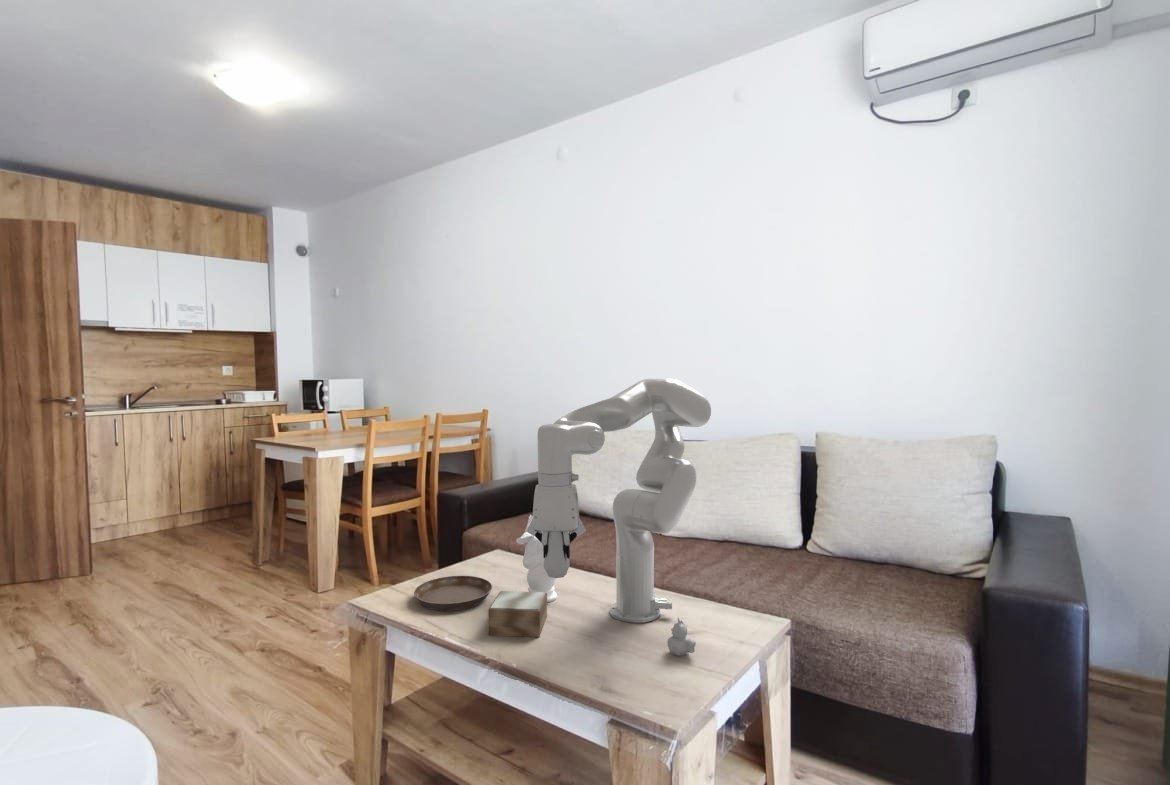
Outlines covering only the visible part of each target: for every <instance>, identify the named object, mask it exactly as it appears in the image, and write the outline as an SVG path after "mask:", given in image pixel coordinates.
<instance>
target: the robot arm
mask: <svg viewBox="0 0 1170 785" xmlns="http://www.w3.org/2000/svg"><path fill="white" fill-rule="evenodd" d="M650 414H651V415H652V419H653V424H654V425H653V426H654V432H655V435H654V439H653V442H652V444H651V446H650V447H649V450H648V451H647V452H646V454H645V456H644V458H643V460H642V462H640V465H639V467H638V469H637V472H636V476H635V479H636V483H637V485H638V486H639V488H641V489H637V488H628V489H623V490H621V491H620V492H618V493H617V495H615V497H614V499H613V503H612V516H613V522H614V526H615V533H616V534H615V538H616V539H615V540H616V541H615V542H616V552H615V553H616V555H615V556H616V557H615V558H616V560H615V561H616V562H615V563H616V567H615V568H616V570H615V572H616V575H615V578H616V580H615V582H616V583H615V584H616V585H615V586H616V587H615V589H616V590H615V592H616V593H615V594H616V595H615V596H616V598H615V603H613V604H612V605H611V606H610V608H609V609H610V610H609V612H610V615H611V616H612V617H613V618H614V619H616V620H618V621H620V622H625V623H626V622H627V623H634V624H637V623H638V624H639V623H648V622H649V623H650V622H652V621H654V620H656V619H658V618H659V617H660V616H661V615H660V613H661V609H662V610H673V602H672V601H671V600H670V601H668V599H667V598H658V597H656V595H655V592H654V591H655V590H654V589H655V584H654V583H655V574H654V573H655V544H654V540H653V536H652V533H654V534H655V533H656V534H660V535H663V534H668V533H670V532H671V531H673V530H674V528H675V527H676V526H677V524H678V523H679V521H680V519H681V517H682V515H683V512H685V511H684V510H686V507H687V505H688V503H689V501H690V499H691V498H692V495H693V493H694V490H695V488H696V484H697V472H696V469H695V466H694V465H693V463H691V462H690V461H689V460H686V459H683V458H682V457H683V454H684V452H685V442H684V438H683V436H682V433H681V431H680V427H687V428H688V427H689V428H700V427H703V426H705V425H706V424H707V423H708V422H709V420H710V419H711V416H712V415H711V414H712V407H711V404H710V401H709V400H708V399H707V397H705V396H704V394H702V393H700V392H699V391H697V390H695V389H693V388H692V387H690V386H688V385H687V384H685V383H683V382H682V381H680V380H678V379H674V378H645V379H642V380H640V381H637V382H635V383H634V384H632V385H630V386H629V387H628V388H627V387H626V389H624V390H622V391H620V392H619V393H617V394H615V395H613V396H612V397H611V396H610V397H609V398H606V399H603V400H600V401H596V402H595V403H591V404H588V405H585V406H583V407H579V408H577V409H575V410H573V411H570V412H568V413H567V414H565V415H564V416H562V417H560V418H558V419H557V420H555V421H554V423H548V424H541V426H539V427H538V428H537V467H538V468H537V471H538V472H537V474H538V476H537V477H538V480H537V481H538V484H536V485H535V489H534V495H533V505H532V506H533V507H532V516H533V519H532V521H531V523H530V525H529V527H528V529H527V532H528V533H529V534H531V535H533V536H535V537H536V538H537V539H538V540H539V541H540V542H541V543H542V545H543V556H544V558H545V556H546V557H547V554H548V536H549V532H554V531H556V532H563V535H564V545H563V552H564V557H565V562H566V555H567V558H569V559H570V557H571V550H570V545H571V543H572V542H573V541H574V540H575V539H576V538H578V537H579V536H581V535H584V534H585V532H586V531H587V530H586V527H585V526H584V523H583V522H582V520H581V519H580V507H579V496H578V490H577V486H576V485H577V484H574V482H576V481H578V482H579V474H576V473H574V472H573V464H572V463H573V459H572V458H573V457H572V456H573V455H586V456H588V455H593V454H595V453H597V452H599V451H600V450H601V449H602V448H603V446H604V444H605V440H606V436H605V433H608V432H615V431H616V432H617V431H621V430H625V429H628V428H630V427H631V426H633V425H634V424H636V423H637V422H639V421H640V420H642V419H644V418H645V417H647V416H649V415H650ZM554 525H555V526H556V528H557V529H556V530H553V526H554ZM541 531H542V532H541Z"/></svg>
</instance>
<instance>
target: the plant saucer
mask: <svg viewBox="0 0 1170 785" xmlns="http://www.w3.org/2000/svg"><path fill="white" fill-rule="evenodd" d="M492 590H493V584H492V583H491V582H490V581H489V580H487V579H485V578H482V577H478V576H474V575H451V576H443V577H437V578H433V579H431V580H428V581H425V582H423V583H421V584H419V585H418V586H417V587H416V588H415V589H414V592H413V594H414V595H413V596H414V598H416V600H417V601H418V602H419V603H420V604H421V605H423V606H424V607H425V608H427V609H430V610H433V609H434V610H435V611H440V610H443V611H444V612H449V611H450V612H452V611H460V610H466V609H469V608H473V607H475V606H477V605H479V604H481V603H482V602H483V601H484V600H485V599H486V598H487V597H488V596H489V595H490V593H491V591H492Z"/></svg>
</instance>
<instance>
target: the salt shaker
mask: <svg viewBox="0 0 1170 785" xmlns="http://www.w3.org/2000/svg"><path fill="white" fill-rule="evenodd" d="M556 529H557V528H556V526H555V525H554V526H553V530H556ZM563 545H564V535H563V532H556V531H554V532H549V536H548V554H547V557H546V556H545V559H544V568H545V570H546V572H547V574H548V577H551V578H556V579H560V578H565V576H566V575H567V574H568V571H569V569H570V568H569V567H570V566H571V565H570V558H567V555H566V562H565V557H564V552H563Z"/></svg>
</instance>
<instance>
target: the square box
mask: <svg viewBox="0 0 1170 785" xmlns="http://www.w3.org/2000/svg"><path fill="white" fill-rule="evenodd" d="M487 611H488V618H487V622H488V625H487V626H488V630H487V631H488V632H487V635H488V636H494V637H495V636H497V637H500V636H501V637H521V636H522V637H523V636H525V637H527V638H540V637H541V634H542V632H543V629H544V626H545V623H546V621H547V619H548V618H547V617H548V602H547V593H545V592H529V591H516V590H513V591H511V590H510V591H509V590H500V591H499V592H498V594H497V595H496V597H495V598H494V600H493V601H492V603H491V604H490V606H489V608H488V610H487ZM525 637H524V638H525Z"/></svg>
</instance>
